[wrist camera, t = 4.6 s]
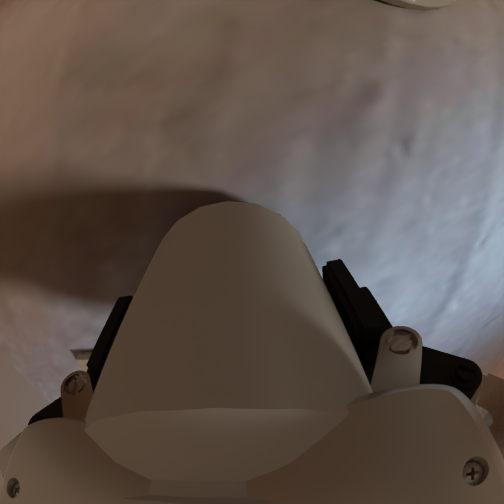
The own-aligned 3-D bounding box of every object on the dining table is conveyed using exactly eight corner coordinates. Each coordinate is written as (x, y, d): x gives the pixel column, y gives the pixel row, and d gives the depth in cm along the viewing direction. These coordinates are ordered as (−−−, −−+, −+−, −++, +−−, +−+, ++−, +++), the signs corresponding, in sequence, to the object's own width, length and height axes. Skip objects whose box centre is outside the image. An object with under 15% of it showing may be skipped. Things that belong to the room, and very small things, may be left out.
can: (302, 320, 16) (357, 529, 6) (172, 327, 16) (138, 536, 5) (310, 192, 13) (490, 445, 2) (147, 201, 13) (-16, 453, 2)
